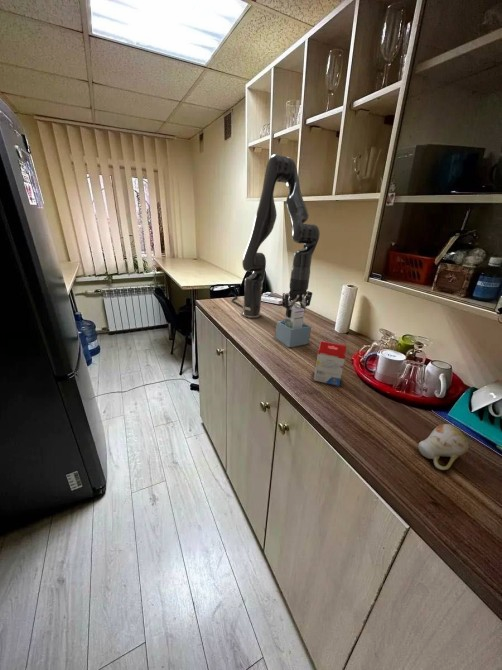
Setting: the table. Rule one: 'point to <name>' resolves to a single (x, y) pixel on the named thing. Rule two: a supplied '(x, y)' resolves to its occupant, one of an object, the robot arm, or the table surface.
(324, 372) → the ink box
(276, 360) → the table surface
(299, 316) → the syrup box
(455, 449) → the mug
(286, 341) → the tidy
